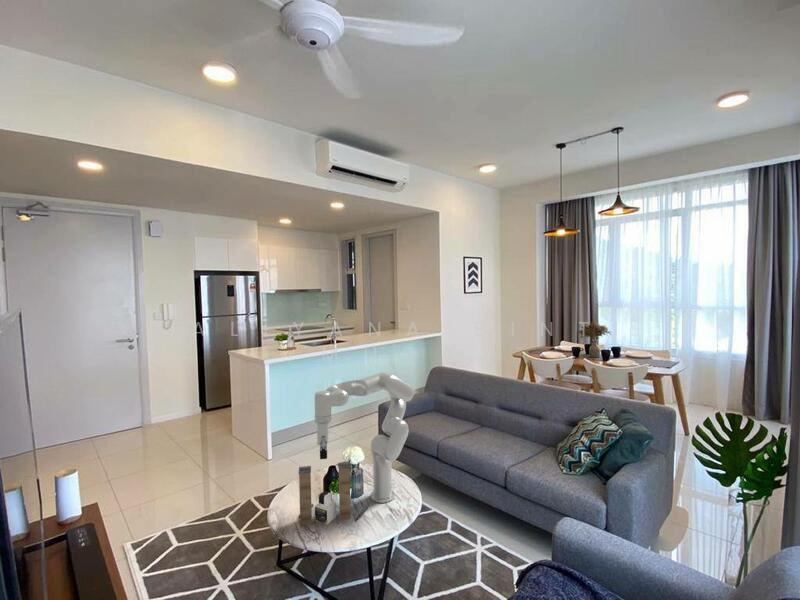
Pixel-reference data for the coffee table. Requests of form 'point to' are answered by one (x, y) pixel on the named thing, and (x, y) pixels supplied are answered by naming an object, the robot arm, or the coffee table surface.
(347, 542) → the coffee table surface
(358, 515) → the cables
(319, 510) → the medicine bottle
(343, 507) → the post
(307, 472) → the post
